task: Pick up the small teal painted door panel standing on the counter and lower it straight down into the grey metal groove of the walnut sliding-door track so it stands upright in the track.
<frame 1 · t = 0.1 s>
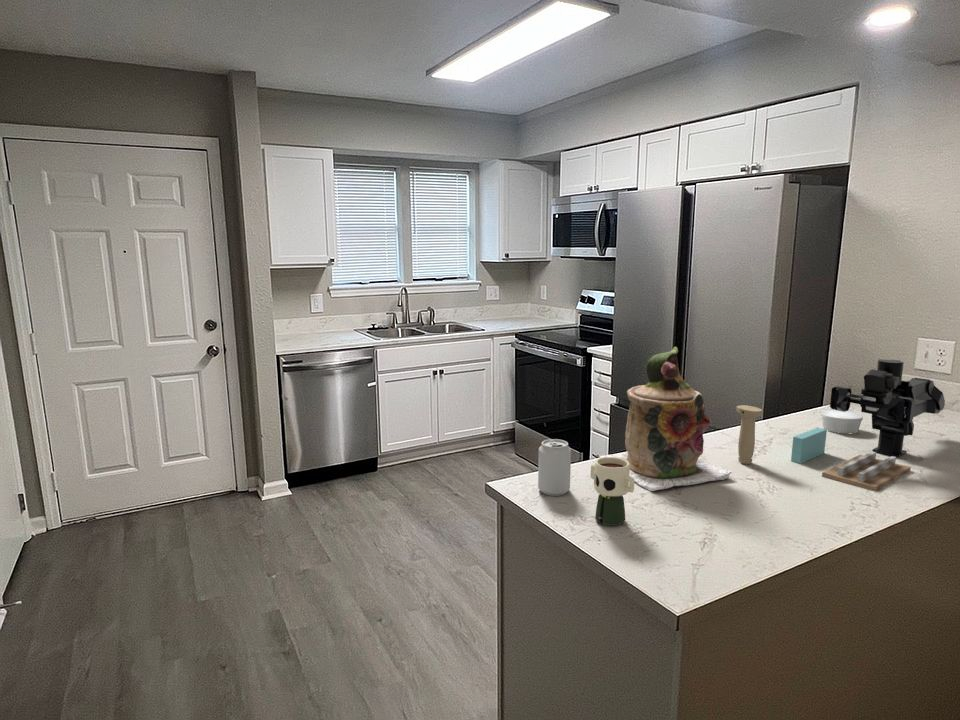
hand: (856, 409, 152), 17 cm above the countertop, tool horizontal, fingers open, 9 cm apart
track: (866, 473, 154), on the countertop
character mug: (610, 522, 128), on the countertop
ramekin: (839, 430, 192), on the countertop
handle: (744, 463, 162), on the countertop
cookie jar: (662, 471, 157), on the countertop
door panel: (807, 457, 167), on the countertop
can: (553, 491, 144), on the countertop
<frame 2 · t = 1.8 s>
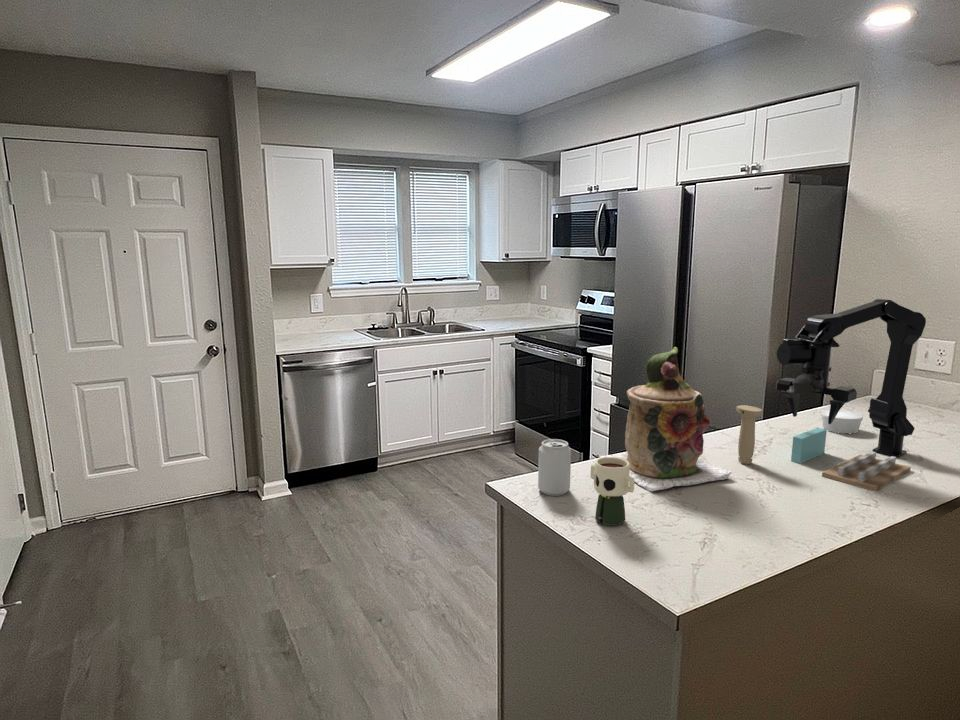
hand: (811, 420, 165), 10 cm above the countertop, tool pointing down, fingers open, 9 cm apart
nothing on the countertop moved.
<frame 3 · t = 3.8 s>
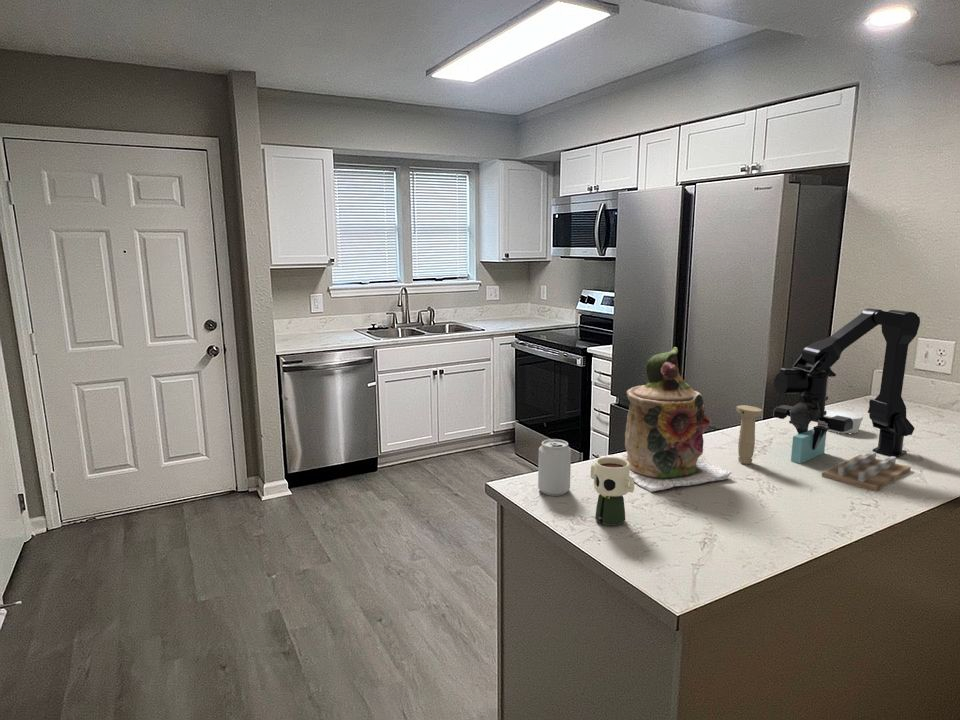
hand: (808, 448, 166), 3 cm above the countertop, tool pointing down, fingers closed on door panel, 2 cm apart
door panel: (807, 457, 167), on the countertop, touching gripper
everything else where it was.
when the fingers open (5 cm above the countertop, at t = 8.3 s): door panel drops 1 cm, resting on track.
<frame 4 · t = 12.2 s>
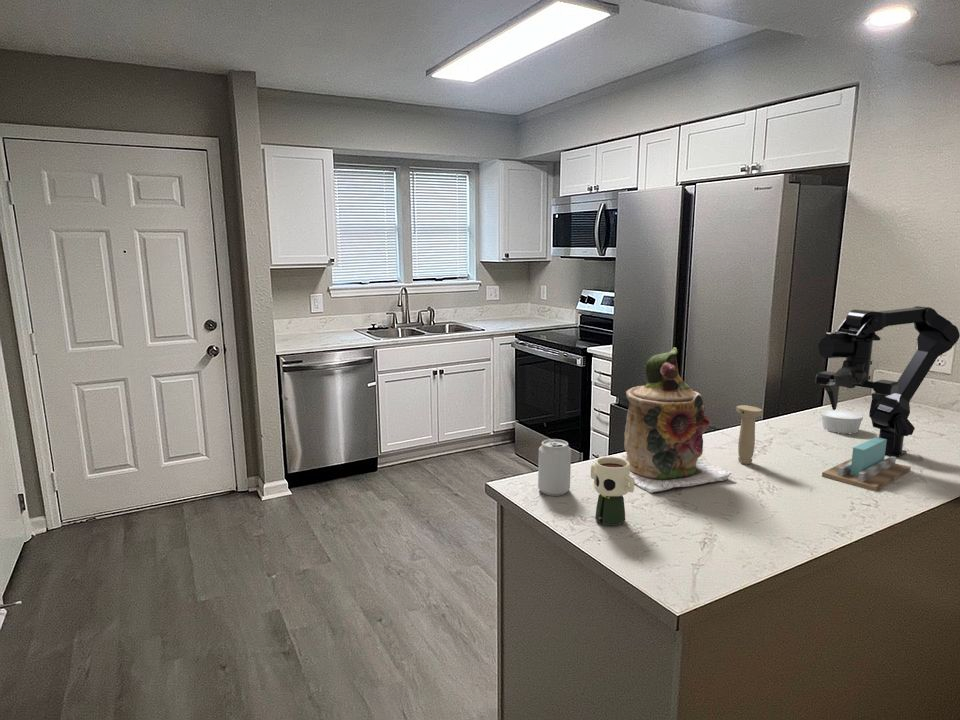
hand: (852, 413, 166), 12 cm above the countertop, tool pointing down, fingers open, 9 cm apart
door panel: (867, 469, 154), point 1 cm above the countertop, touching track
everything else where it was.
at the end: door panel inside the target area on the track (0.0 cm from its centre), point 1.0 cm above the track's base; door panel tilted 0°; the gripper is holding nothing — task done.
